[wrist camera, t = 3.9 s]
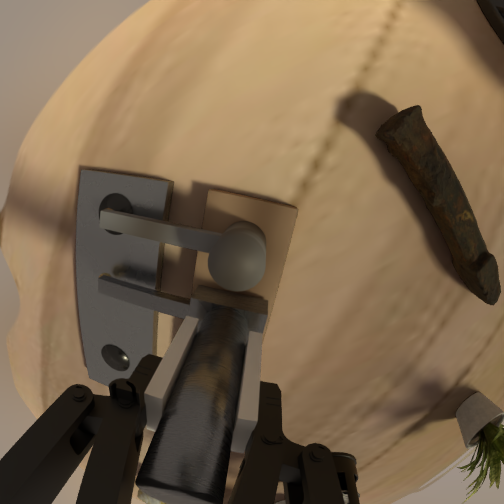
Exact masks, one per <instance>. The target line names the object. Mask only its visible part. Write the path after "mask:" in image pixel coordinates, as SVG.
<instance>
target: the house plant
mask: <svg viewBox="0 0 504 504" xmlns="http://www.w3.org/2000/svg"><path fill="white" fill-rule="evenodd" d="M456 418H457V421H458V424H459V427H460V430H461V433H462V436H463V440H464V443H465V446H466V448H467V449H470V448H472V447H475V446H477V447H478V444H479V447H478V452H477V457H476V459H475V460H474V461H473V462H472V460H473V457H474V455H473V457H472V460H471V462H472V463H471V462H470V464H468V465H466V466H463V467H458V468H460V469H464V468H467V467H469V466H470V468H469V469H468V470H471V472H470V474H469V475H468V477H469V476H470V475H471V473H472V472H473V470H474V469H475V466H476V465H477V464H478V462H479V460H480V458H481V456H482V453H483V458H482V461H481V463H480V464H479V466H481V465H482V467H481V471H480V475H479V476H478V477H477V479H476V480H475V481H474V482H473V483H472V484H474V483H475V482H476V481H477V483H476V484H475V486H474V488H473V489H472V490H471V491H473V490H474V489H475V487H476V486H477V487H476V489H475V490H474V492H473V493H472V494H471V495H470V496H469V497H468V499H469V498H470V497H471V496H472V495H473V494H474V493H476V492H477V491H478V490H477V489H478V487H479V486H480V484H481V482H482V480H483V478H484V480H485V478H486V475H487V471H488V468H489V467H490V474H489V478H490V481H491V483H490V487H491V486H492V485H493V483H494V482H495V481H496V487H497V488H499V483H500V474H501V461H502V463H503V464H504V428H503V427H504V425H502V424H501V423H502V422H503V420H504V412H503V411H502V410H501V409H500V408H499V407H497V406H496V405H495V404H494V403H493V402H492V401H490V400H489V399H488V398H487V397H486V396H484V395H483V394H482V393H480V392H477V393H475V394H473V395H471V396H470V397H469V398H467V399H466V400H465V401H464V402H463V403H462V404H461V406H460V407H459V408H458V410H457V412H456ZM477 447H476V449H477ZM475 452H476V450H475ZM474 454H475V453H474ZM486 458H487V461H486V465H485V468H484V470H483V466H484V462H485V460H486ZM500 460H501V461H500ZM479 466H478V467H479ZM464 470H465V469H464ZM464 470H463V471H464ZM468 470H467V471H468ZM481 476H482V477H481ZM466 478H467V477H466ZM484 480H483V482H484ZM472 484H471V485H472ZM482 484H483V483H482ZM471 485H470V486H471ZM470 486H469V487H470ZM479 488H480V487H479ZM476 490H477V491H476ZM471 491H470V492H471ZM475 491H476V492H475ZM470 492H469V493H470ZM469 493H468V494H469ZM465 501H466V500H465Z"/></svg>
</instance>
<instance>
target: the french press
mask: <svg viewBox="0 0 504 504" xmlns="http://www.w3.org/2000/svg"><path fill="white" fill-rule="evenodd" d="M332 456H333V460H334V464H335V467H336V471H337V473H338V474H337V475H338V479H339V482H340V486H341V490H342V494H343V498H344V502H345V504H360V503H359V497H360V494H359V493H358V492H357V487H356V482H357V480H358V474H357V469H356V459H355V457H354V456H352V455H351V454H347V453H332Z"/></svg>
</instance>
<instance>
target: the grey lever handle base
mask: <svg viewBox="0 0 504 504" xmlns="http://www.w3.org/2000/svg"><path fill="white" fill-rule="evenodd" d="M297 214H298V209H297V207H293V206H289V205H285V204H281V203H277V202H272V201H268V200H263V199H259V198H254V197H250V196H245V195H240V194H236V193H231V192H226V191H221V190H216V189H211V190H209V191H208V196H207V202H206V207H205V212H204V218H203V224H202V229H199V228H195V227H190V226H185V225H181V224H176V223H171V222H167V221H162V220H157V219H153V218H148V217H143V216H138V215H133V214H129V213H124V212H119V211H114V210H112V209H110V208H106V209H104V210H101V212H100V225H99V228H103V229H107V230H112V231H116V232H120V233H124V234H128V235H133V236H137V237H141V238H145V239H149V240H154V241H158V242H162V243H167V244H171V245H175V246H179V247H184V248H188V249H192V250H197V251H198V254H197V260H196V266H195V273H194V280H193V287H192V294H191V297H192V295H193V293H194V292H195V290H196V288H197V287H198V285H203V286H207V287H211V288H216V289H220V290H224V291H228V292H233V293H237V294H242V295H246V296H251V297H255V298H260V299H265V300H268V317H267V321H266V324H265V328H264V331H263V336H262V343H263V340H264V337H265V333H266V330H267V326H268V323H269V319H270V316H271V312H272V309H273V305H274V302H275V298H276V294H277V291H278V287H279V283H280V280H281V276H282V272H283V269H284V265H285V261H286V257H287V253H288V250H289V246H290V242H291V238H292V234H293V230H294V226H295V222H296V218H297Z"/></svg>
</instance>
